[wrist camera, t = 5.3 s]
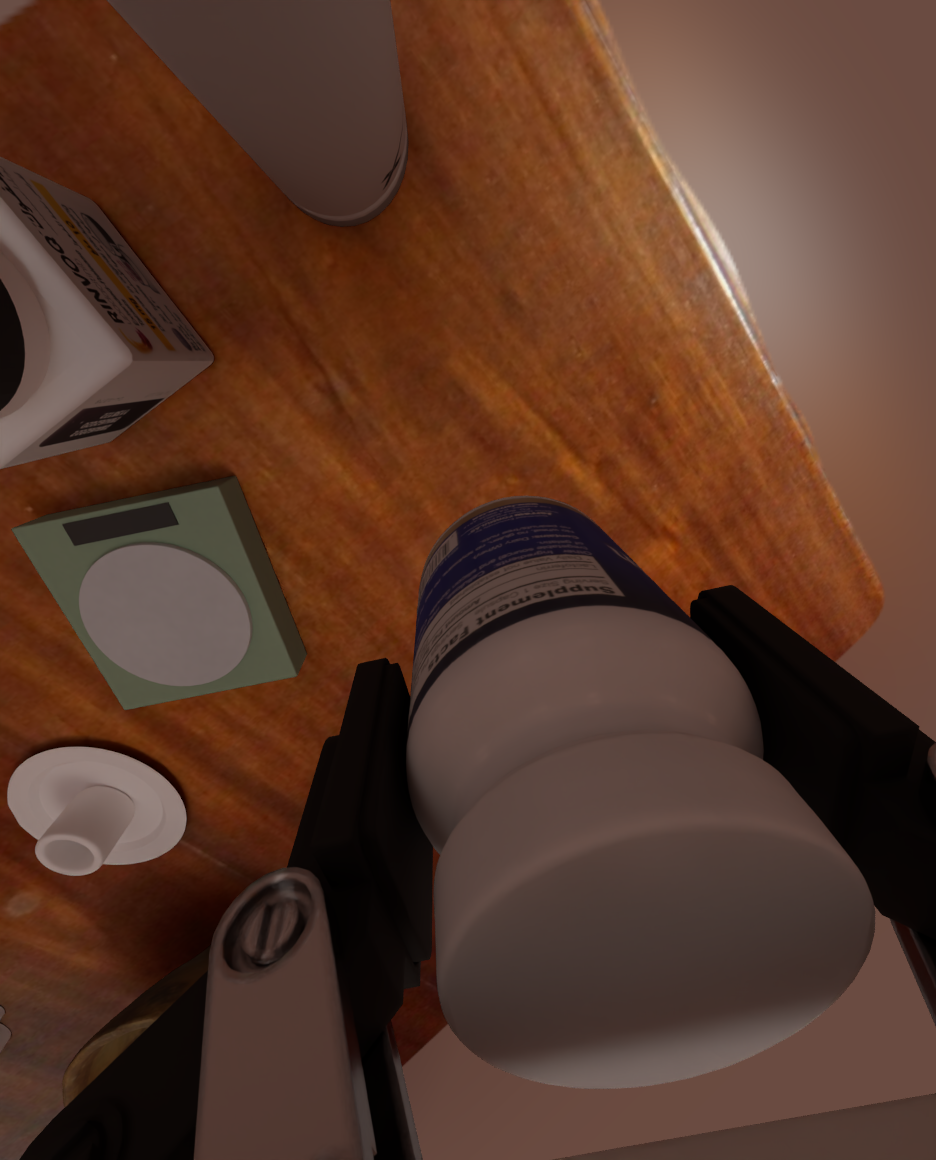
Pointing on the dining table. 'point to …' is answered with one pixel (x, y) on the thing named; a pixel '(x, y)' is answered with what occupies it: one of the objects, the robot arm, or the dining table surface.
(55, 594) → the scale
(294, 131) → the travel mug
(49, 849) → the candle holder
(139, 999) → the bowl
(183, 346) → the container
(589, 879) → the pill bottle
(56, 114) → the dining table surface
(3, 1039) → the vase
